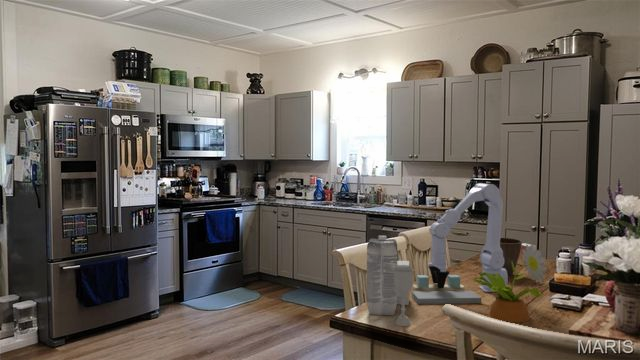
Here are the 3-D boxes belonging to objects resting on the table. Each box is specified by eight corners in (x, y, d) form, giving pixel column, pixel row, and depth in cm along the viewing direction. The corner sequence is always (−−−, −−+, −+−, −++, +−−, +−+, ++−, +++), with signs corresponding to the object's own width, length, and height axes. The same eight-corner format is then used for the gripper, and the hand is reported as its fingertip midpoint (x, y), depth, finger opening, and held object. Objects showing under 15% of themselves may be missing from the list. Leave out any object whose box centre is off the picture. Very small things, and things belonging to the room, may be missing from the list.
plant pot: (528, 275, 230) (528, 241, 230) (508, 279, 222) (508, 244, 221) (500, 269, 243) (500, 236, 242) (480, 273, 234) (480, 239, 234)
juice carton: (396, 317, 171) (397, 238, 170) (366, 315, 173) (366, 238, 171) (397, 309, 180) (397, 234, 178) (368, 307, 181) (368, 234, 180)
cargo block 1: (426, 284, 204) (426, 275, 204) (428, 287, 200) (428, 277, 200) (416, 284, 204) (416, 275, 203) (418, 287, 200) (419, 277, 199)
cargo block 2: (457, 284, 204) (457, 274, 204) (460, 286, 200) (460, 277, 200) (447, 284, 204) (447, 274, 204) (450, 287, 200) (450, 277, 200)
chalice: (390, 320, 168) (390, 267, 167) (410, 319, 168) (410, 266, 167) (395, 327, 160) (395, 272, 160) (416, 327, 161) (416, 271, 160)
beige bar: (460, 291, 205) (460, 284, 205) (464, 294, 200) (464, 287, 200) (412, 291, 204) (412, 284, 204) (415, 295, 199) (415, 287, 199)
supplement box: (409, 305, 184) (409, 265, 183) (384, 304, 186) (384, 264, 185) (409, 298, 193) (410, 260, 192) (386, 297, 195) (386, 259, 194)
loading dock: (472, 295, 197) (472, 290, 197) (481, 303, 187) (481, 297, 187) (411, 296, 196) (412, 291, 196) (417, 303, 186) (417, 298, 186)
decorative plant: (561, 325, 162) (563, 249, 161) (494, 331, 157) (495, 252, 156) (512, 302, 188) (513, 236, 187) (454, 306, 183) (454, 238, 182)
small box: (515, 264, 255) (516, 243, 255) (525, 263, 257) (525, 243, 256) (526, 267, 247) (527, 246, 247) (536, 266, 249) (536, 245, 249)
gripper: (424, 249, 208) (424, 281, 209) (433, 255, 194) (433, 290, 195) (441, 248, 209) (440, 281, 209) (451, 255, 194) (451, 290, 195)
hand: (438, 285), depth 202 cm, fingers open, 7 cm apart
